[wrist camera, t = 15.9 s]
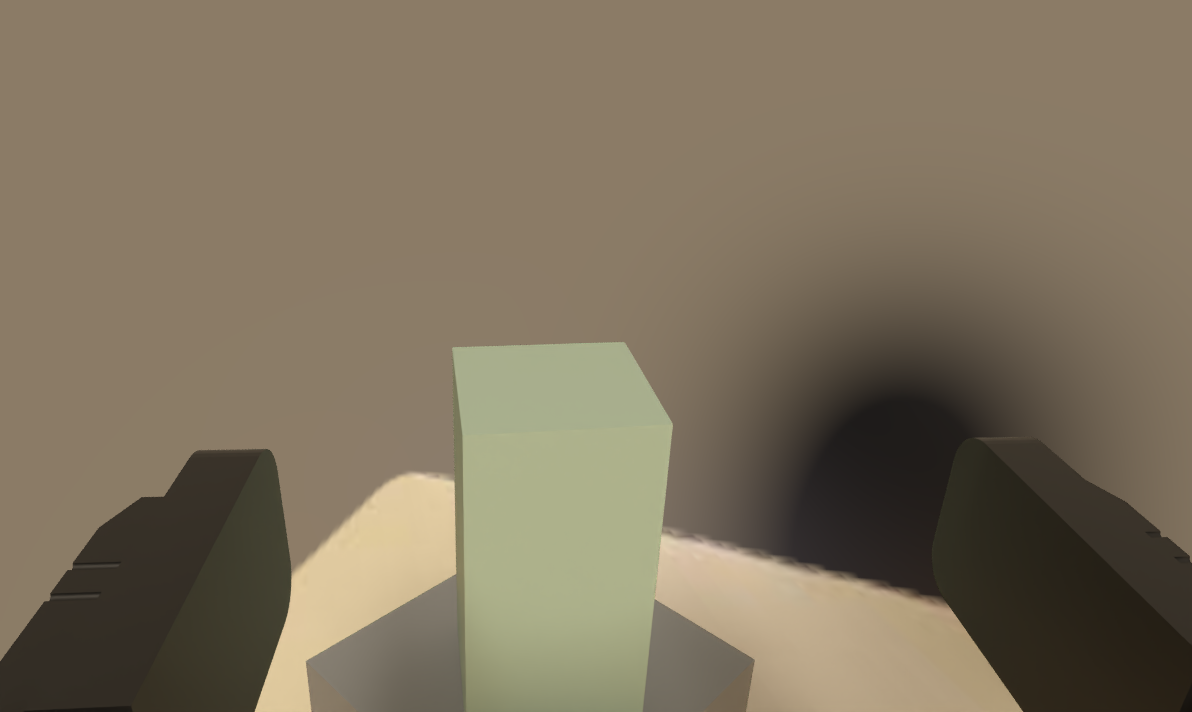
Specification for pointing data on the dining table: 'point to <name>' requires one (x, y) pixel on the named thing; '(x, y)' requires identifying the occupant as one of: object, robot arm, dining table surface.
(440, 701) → the slate grey block
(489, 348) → the sage pillar block
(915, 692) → the dining table surface
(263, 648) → the robot arm
